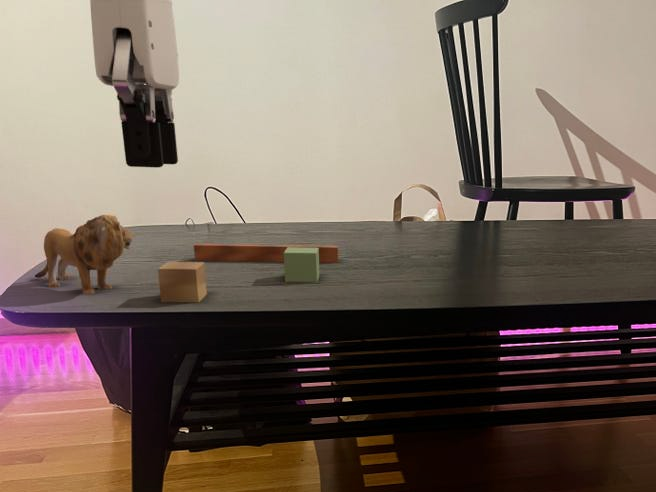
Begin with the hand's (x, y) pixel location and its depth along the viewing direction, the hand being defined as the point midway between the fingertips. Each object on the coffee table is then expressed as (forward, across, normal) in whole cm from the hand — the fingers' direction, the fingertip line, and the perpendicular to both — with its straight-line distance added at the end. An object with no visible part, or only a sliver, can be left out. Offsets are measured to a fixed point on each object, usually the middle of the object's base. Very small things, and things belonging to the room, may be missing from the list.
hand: (153, 163), depth 68 cm
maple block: (+15, -6, 0) cm, 17 cm away
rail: (+15, -30, +6) cm, 34 cm away
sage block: (+15, -18, +12) cm, 26 cm away
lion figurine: (+16, -12, -12) cm, 23 cm away
